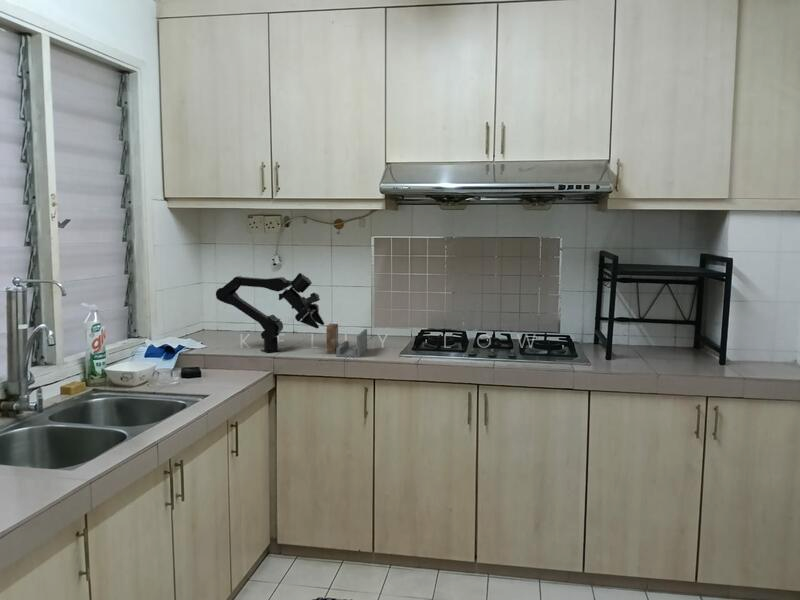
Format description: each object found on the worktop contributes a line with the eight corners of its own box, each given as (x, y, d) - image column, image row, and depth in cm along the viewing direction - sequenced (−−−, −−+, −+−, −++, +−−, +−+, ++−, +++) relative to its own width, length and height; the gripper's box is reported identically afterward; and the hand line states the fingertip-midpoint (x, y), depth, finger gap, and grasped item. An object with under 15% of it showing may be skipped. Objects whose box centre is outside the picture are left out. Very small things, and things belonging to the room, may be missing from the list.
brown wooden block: (326, 353, 273) (325, 325, 272) (329, 351, 279) (329, 323, 278) (335, 353, 273) (335, 326, 271) (338, 351, 279) (338, 323, 277)
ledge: (336, 356, 266) (336, 335, 265) (345, 348, 284) (345, 328, 283) (359, 357, 265) (359, 336, 264) (367, 349, 283) (367, 329, 282)
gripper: (302, 289, 265) (328, 316, 265) (313, 285, 283) (338, 310, 283) (284, 307, 267) (310, 334, 266) (296, 302, 285) (321, 327, 285)
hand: (321, 326), depth 275 cm, fingers open, 9 cm apart
